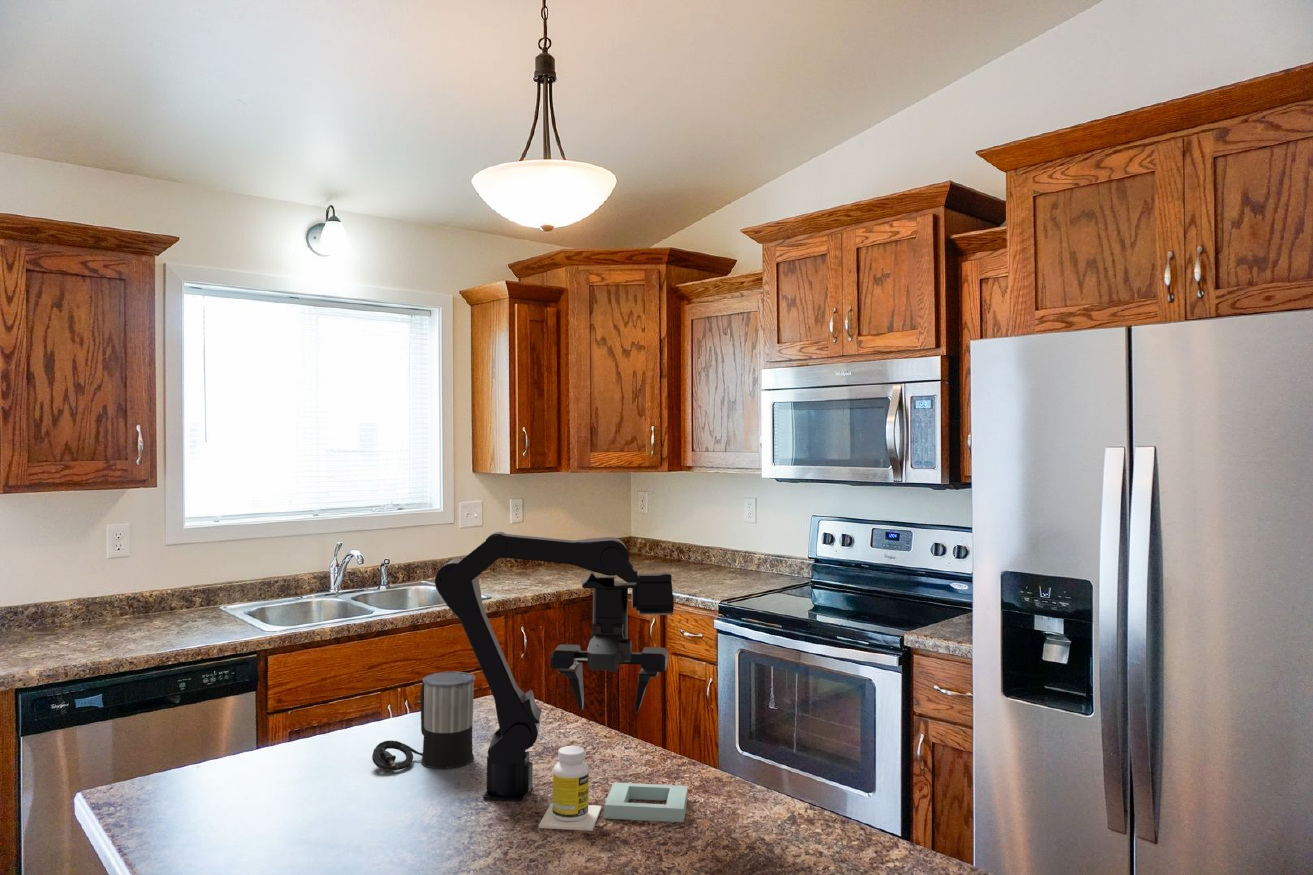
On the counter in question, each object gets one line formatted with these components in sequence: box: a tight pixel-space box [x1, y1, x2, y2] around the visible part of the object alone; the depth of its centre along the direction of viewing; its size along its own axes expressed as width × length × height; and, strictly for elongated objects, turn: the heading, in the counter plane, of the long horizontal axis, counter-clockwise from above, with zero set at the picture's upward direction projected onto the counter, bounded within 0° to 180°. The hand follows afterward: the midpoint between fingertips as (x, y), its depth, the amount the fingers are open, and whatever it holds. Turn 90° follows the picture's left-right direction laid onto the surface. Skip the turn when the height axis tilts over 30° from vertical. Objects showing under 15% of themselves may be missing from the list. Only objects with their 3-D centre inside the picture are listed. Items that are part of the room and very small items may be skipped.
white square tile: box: [538, 802, 603, 832], centre depth 129 cm, size 8×8×1 cm
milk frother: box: [371, 671, 476, 772], centre depth 152 cm, size 14×16×15 cm
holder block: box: [603, 781, 689, 823], centre depth 133 cm, size 12×9×2 cm
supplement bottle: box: [552, 745, 590, 821], centre depth 130 cm, size 5×5×10 cm
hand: (609, 710), depth 140 cm, fingers open, 9 cm apart
